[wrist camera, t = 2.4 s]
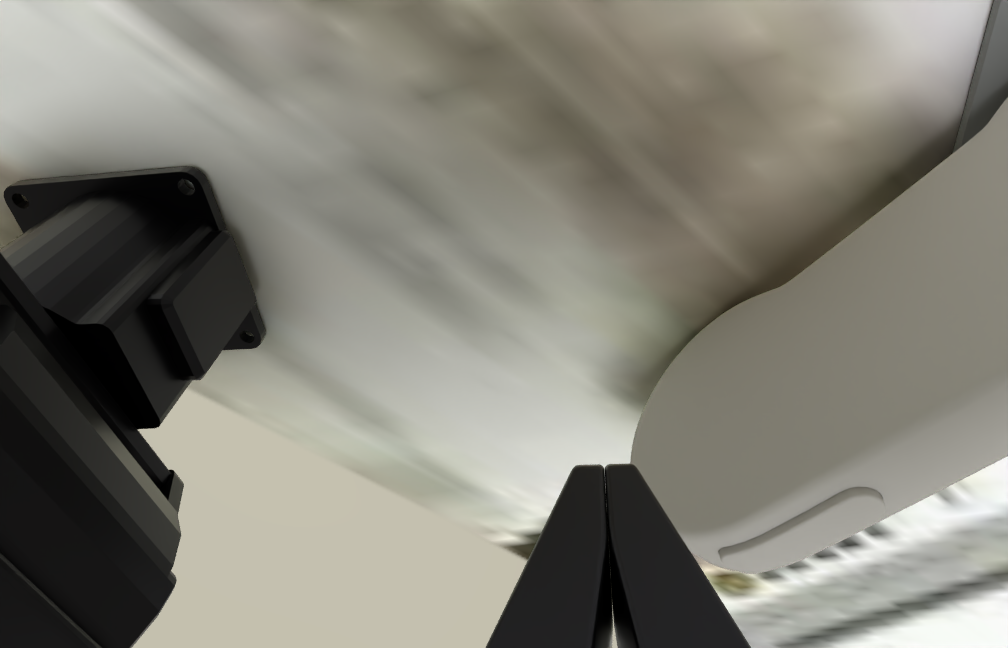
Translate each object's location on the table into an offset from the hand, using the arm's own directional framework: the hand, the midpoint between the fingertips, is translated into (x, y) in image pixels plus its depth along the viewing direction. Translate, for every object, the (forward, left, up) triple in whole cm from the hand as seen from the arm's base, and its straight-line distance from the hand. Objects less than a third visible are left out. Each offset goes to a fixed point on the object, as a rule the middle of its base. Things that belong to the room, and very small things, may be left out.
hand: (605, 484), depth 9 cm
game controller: (+8, -2, -12) cm, 15 cm away
